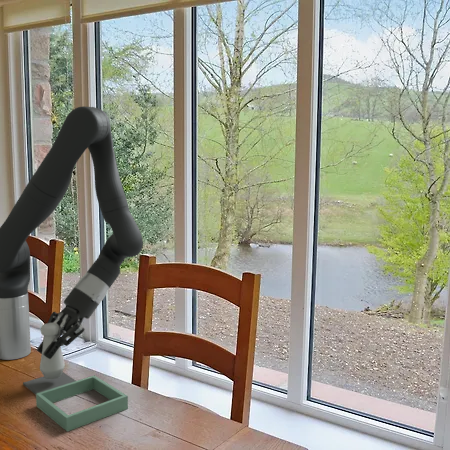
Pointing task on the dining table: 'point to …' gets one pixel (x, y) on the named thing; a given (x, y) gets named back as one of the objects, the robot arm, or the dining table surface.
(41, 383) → the rubber mat
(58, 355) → the salt shaker
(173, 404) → the dining table surface
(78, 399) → the dining table surface
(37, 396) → the square frame
